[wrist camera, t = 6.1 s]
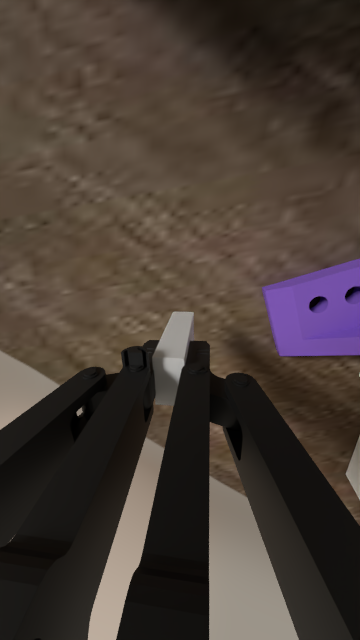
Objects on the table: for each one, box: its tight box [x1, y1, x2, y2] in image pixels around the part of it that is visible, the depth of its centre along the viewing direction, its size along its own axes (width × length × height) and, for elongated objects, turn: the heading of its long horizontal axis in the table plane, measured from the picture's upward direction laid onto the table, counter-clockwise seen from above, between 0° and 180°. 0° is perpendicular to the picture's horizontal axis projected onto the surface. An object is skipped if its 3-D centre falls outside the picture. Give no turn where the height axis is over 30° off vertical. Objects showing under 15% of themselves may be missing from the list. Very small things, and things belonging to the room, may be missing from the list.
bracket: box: [262, 259, 360, 356], centre depth 18 cm, size 12×7×7 cm, turn 110°
